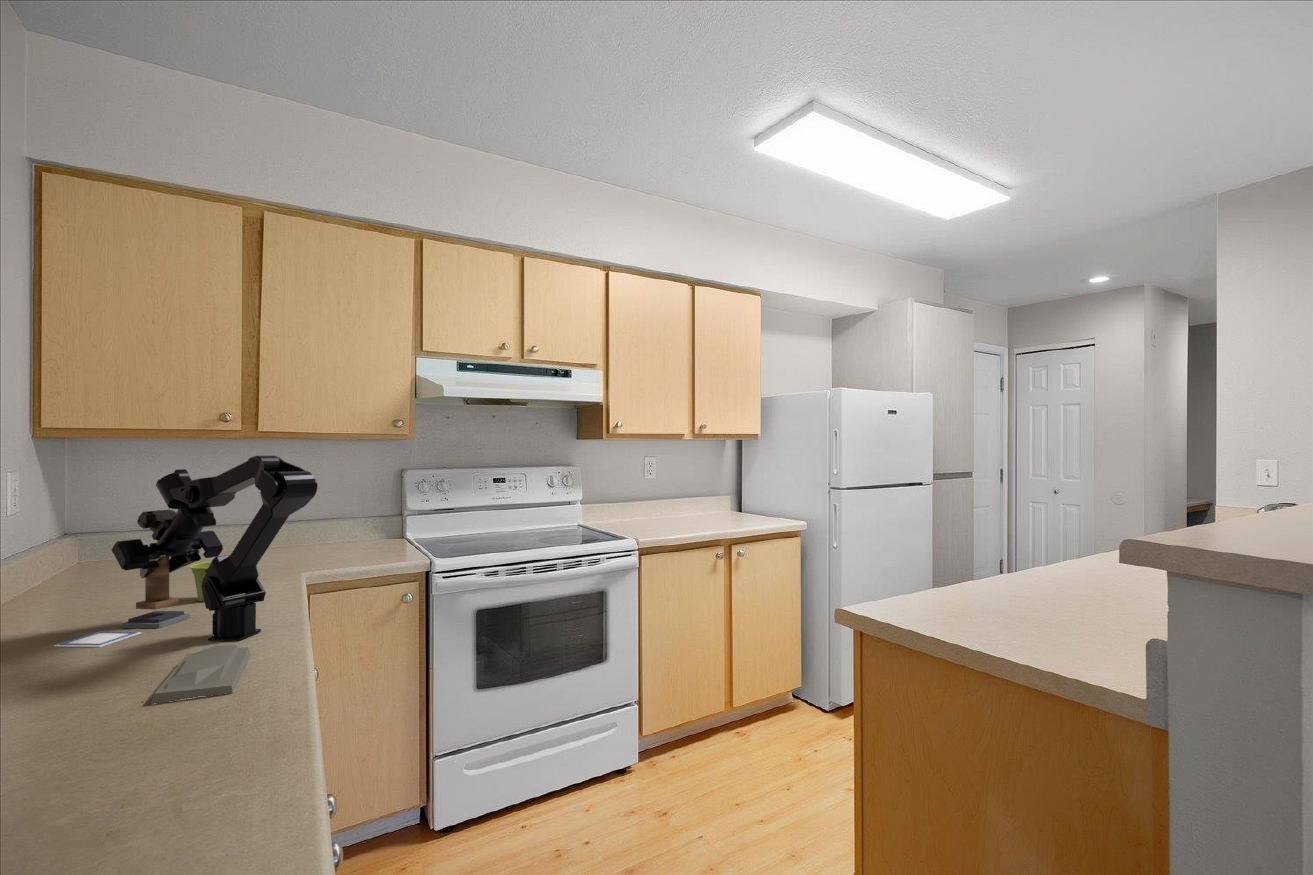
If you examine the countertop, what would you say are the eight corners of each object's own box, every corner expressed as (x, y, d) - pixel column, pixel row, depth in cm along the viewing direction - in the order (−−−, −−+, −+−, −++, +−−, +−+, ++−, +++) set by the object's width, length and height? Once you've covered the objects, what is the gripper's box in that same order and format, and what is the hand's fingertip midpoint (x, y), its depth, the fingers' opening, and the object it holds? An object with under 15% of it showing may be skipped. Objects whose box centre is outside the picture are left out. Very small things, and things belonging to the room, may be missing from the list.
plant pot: (212, 604, 148) (212, 568, 148) (179, 602, 150) (180, 566, 150) (245, 595, 157) (245, 561, 157) (214, 593, 159) (214, 560, 159)
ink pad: (189, 617, 136) (189, 610, 136) (159, 628, 128) (159, 620, 128) (154, 617, 137) (154, 610, 137) (121, 627, 129) (122, 619, 129)
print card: (141, 633, 125) (141, 631, 125) (99, 647, 116) (99, 645, 116) (99, 632, 125) (99, 630, 125) (53, 646, 116) (53, 644, 116)
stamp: (178, 603, 134) (178, 546, 135) (155, 609, 129) (155, 550, 130) (159, 603, 135) (159, 546, 136) (135, 608, 130) (136, 550, 131)
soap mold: (148, 709, 89) (148, 685, 89) (183, 666, 107) (183, 645, 107) (233, 697, 94) (233, 674, 94) (253, 657, 112) (253, 637, 112)
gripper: (215, 494, 140) (184, 541, 144) (117, 500, 123) (85, 553, 127) (238, 531, 137) (205, 577, 141) (141, 542, 120) (106, 595, 124)
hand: (153, 574), depth 133 cm, fingers closed on stamp, 4 cm apart
